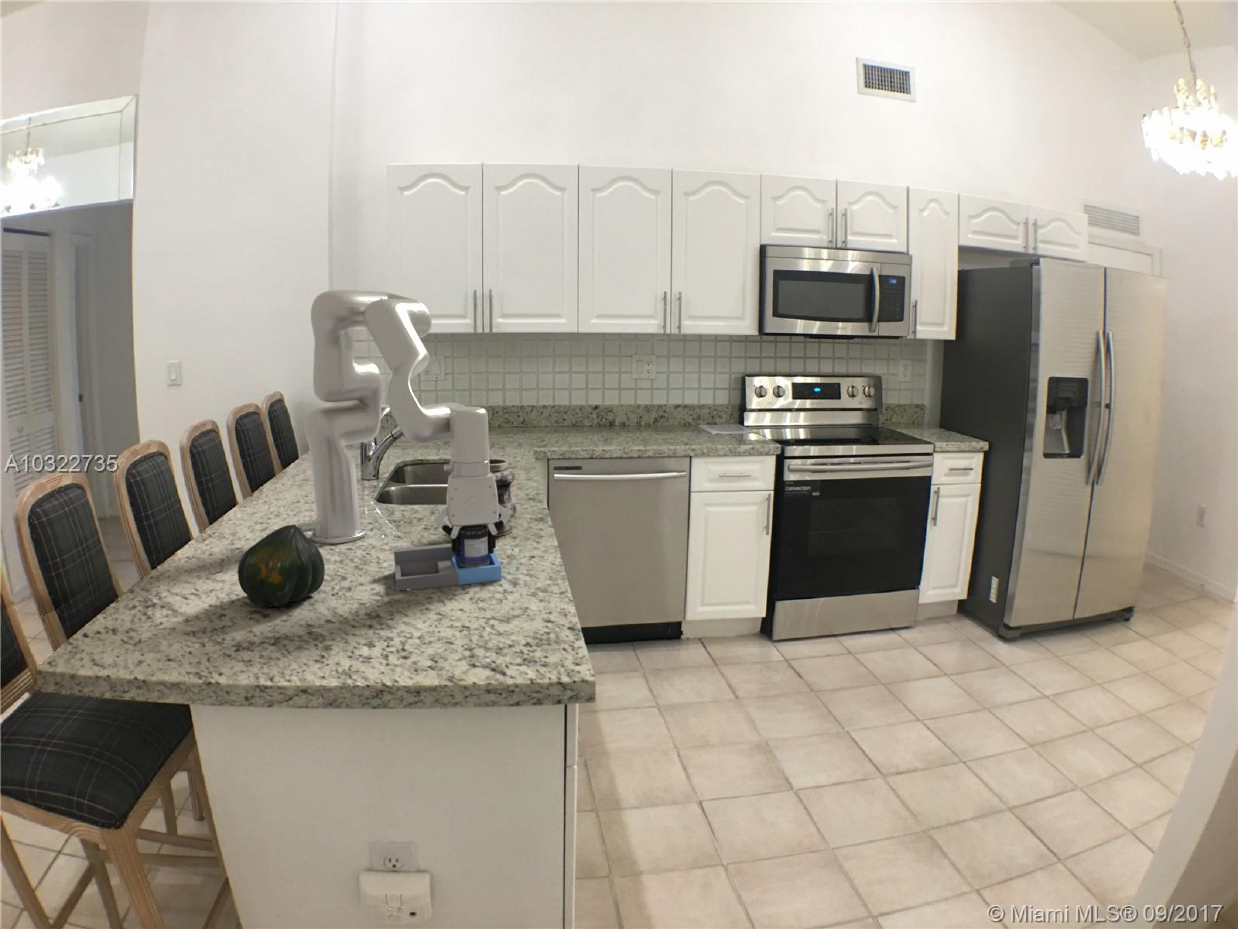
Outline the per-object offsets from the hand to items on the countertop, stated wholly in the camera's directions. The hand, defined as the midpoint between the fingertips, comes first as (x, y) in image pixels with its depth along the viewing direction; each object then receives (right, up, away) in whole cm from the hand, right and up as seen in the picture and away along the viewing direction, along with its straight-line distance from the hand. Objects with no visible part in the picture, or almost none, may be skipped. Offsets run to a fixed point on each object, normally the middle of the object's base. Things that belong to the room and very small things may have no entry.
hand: (474, 552), depth 146 cm
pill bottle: (0, -3, +1) cm, 3 cm away
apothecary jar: (-2, +1, +30) cm, 30 cm away
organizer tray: (-5, -5, -1) cm, 7 cm away
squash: (-33, -8, -12) cm, 36 cm away
